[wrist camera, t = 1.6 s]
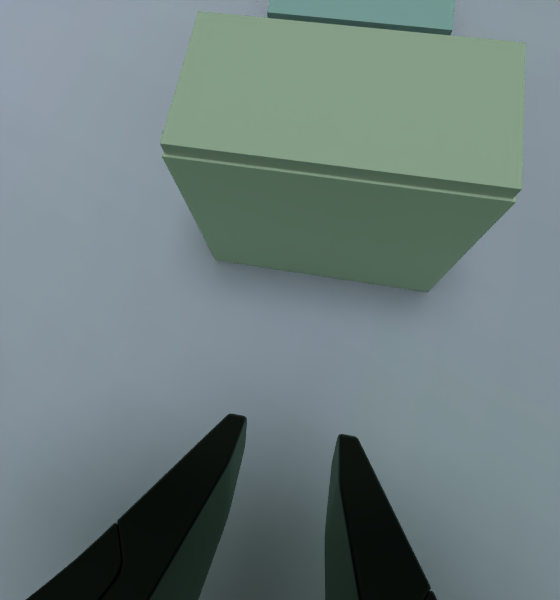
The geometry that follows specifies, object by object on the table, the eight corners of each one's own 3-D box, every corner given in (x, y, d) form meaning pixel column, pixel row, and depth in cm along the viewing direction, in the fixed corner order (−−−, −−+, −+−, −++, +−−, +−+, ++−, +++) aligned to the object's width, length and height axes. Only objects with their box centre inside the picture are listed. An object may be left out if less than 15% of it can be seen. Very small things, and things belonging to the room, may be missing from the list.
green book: (427, 292, 23) (525, 192, 13) (216, 260, 24) (156, 145, 14) (435, 196, 25) (528, 40, 15) (236, 170, 26) (196, 8, 16)
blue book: (394, 178, 25) (451, 30, 16) (279, 163, 26) (267, 12, 16) (401, 119, 26) (459, -52, 17) (290, 107, 27) (285, -66, 18)
